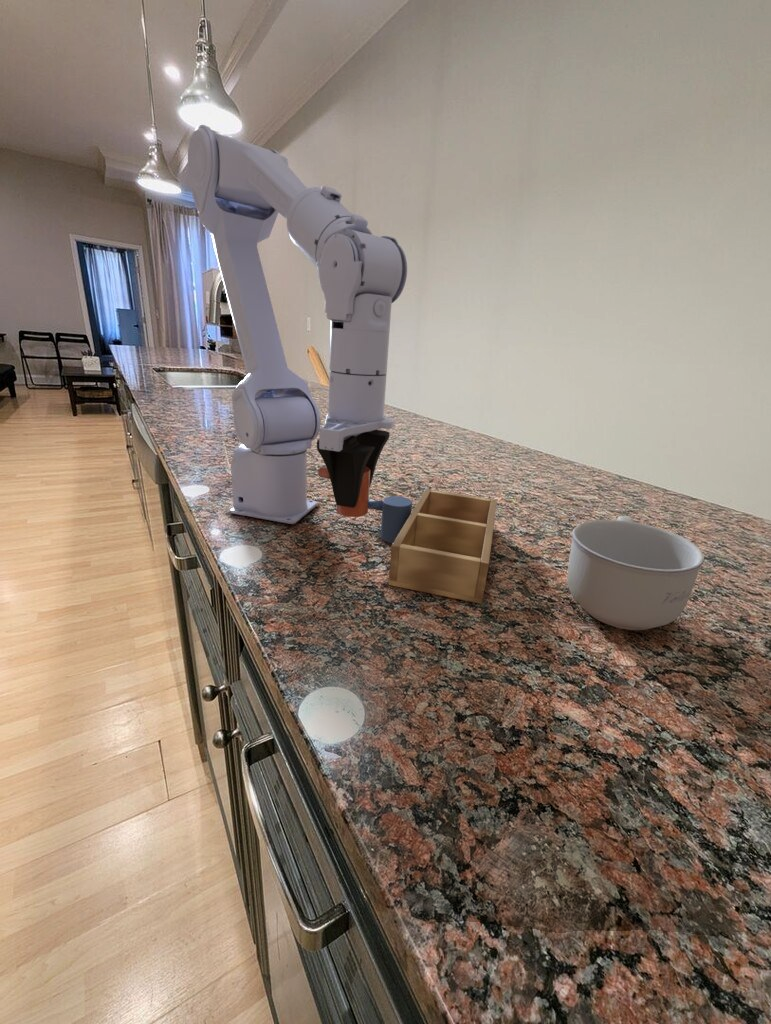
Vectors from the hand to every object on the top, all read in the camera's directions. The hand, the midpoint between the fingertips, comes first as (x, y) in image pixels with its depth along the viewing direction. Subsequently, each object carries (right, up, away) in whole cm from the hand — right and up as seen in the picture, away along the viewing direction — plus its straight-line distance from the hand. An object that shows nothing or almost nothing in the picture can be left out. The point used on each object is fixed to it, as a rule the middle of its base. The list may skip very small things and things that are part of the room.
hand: (352, 499), depth 50 cm
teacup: (+27, -11, -4) cm, 30 cm away
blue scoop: (+4, -5, +7) cm, 9 cm away
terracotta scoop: (-1, -1, +1) cm, 2 cm away
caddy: (+11, -7, +4) cm, 13 cm away
